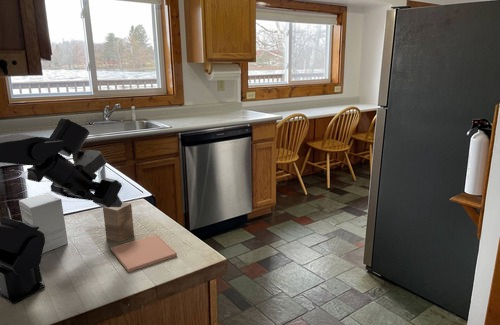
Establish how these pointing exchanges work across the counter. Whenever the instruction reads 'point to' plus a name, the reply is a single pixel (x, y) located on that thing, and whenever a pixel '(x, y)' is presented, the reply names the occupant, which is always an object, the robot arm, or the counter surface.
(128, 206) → the walnut block
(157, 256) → the terracotta mat
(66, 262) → the counter surface
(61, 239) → the supplement box
